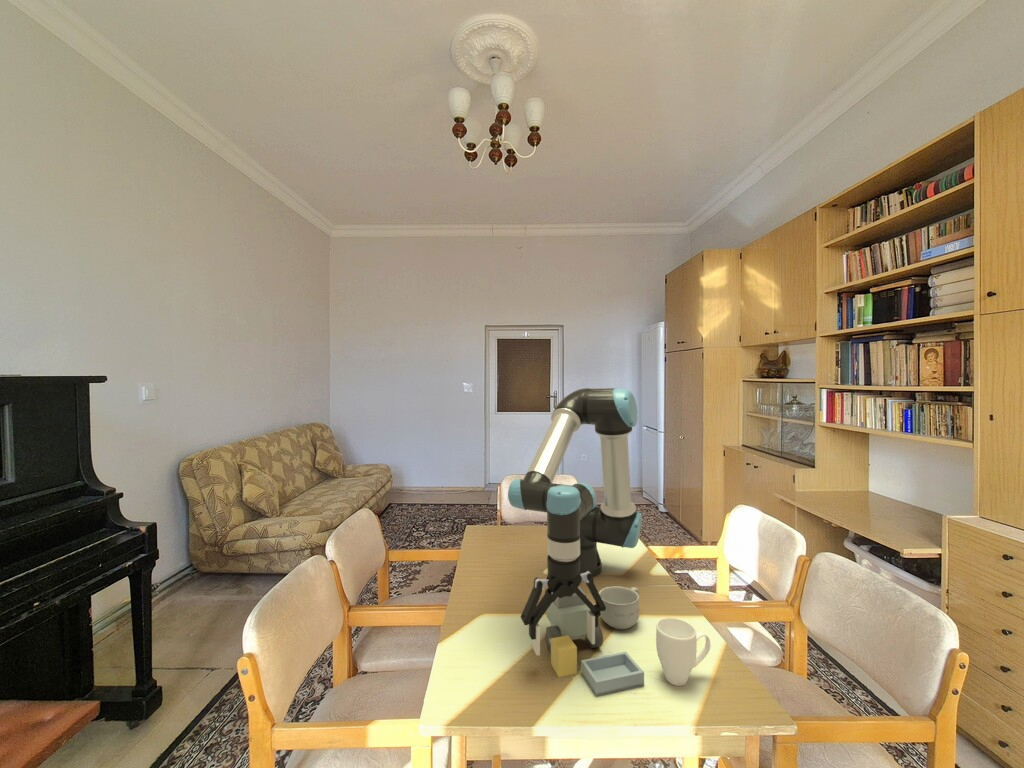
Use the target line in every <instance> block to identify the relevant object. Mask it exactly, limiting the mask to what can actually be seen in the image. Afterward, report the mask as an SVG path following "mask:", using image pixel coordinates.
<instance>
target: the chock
mask: <svg viewBox="0 0 1024 768" xmlns="http://www.w3.org/2000/svg"><path fill="white" fill-rule="evenodd" d="M573 641H574V640H571V638H570V637H569V636H568V635H567V636H562V637H556V638H551V654H550V665H551V666H552V668H553V670H554V671H555V673H556V676H557V677H558V678H563V677H566V676H567V677H568V676H571V675H577V674H578V646H577V645H576V644H575V643H574V642H573Z"/></svg>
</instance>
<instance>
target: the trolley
mask: <svg viewBox="0 0 1024 768" xmlns="http://www.w3.org/2000/svg"><path fill="white" fill-rule="evenodd" d="M578 588H579V590H580V591H581V592H582V593H583V594H584V595H585V596H586V597H587V594H586V592H585V591H583V589H582V588H581V587H580V585H579V586H578ZM551 594H553V592H552V593H551ZM588 610H590V609H589V607H588V606H587V605H586V604H585V603H584V602H583V601H582V600H581V599H580V598H579V597H578V595H577V594H576V593H574V594H573V595H572V596H570V597H568V596H565V597H563V598H559V597H557V598H556V600H555V601H554V602H552V603H551V605H550V606H549V608H548V609H547V610H546V618H547V620H548V622H549V623H550V624H551V626H547V627H546V628H545V642H546V646H547V650H548V652H549V654H550V655H551V638H556V637H562V636H567V635H568V636H569V637H570V638H571V640H572V641H575V640H579V639H584V638H585V640H586V641H585V642H586V643H587V645H588V646H589V648H591V649H595V648H598V647H602V645H603V641H604V635H603V630H602V626H601V624H600V622H599V621H598V627H596V628H595V644H591V642H590V641H589V640H588V638H587V611H588ZM590 611H591V610H590Z"/></svg>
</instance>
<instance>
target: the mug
mask: <svg viewBox="0 0 1024 768" xmlns="http://www.w3.org/2000/svg"><path fill="white" fill-rule="evenodd" d="M655 628H656V629H655V636H656V637H655V638H656V639H655V641H656V642H655V644H656V645H655V646H656V654H657V656H658V660H659V663H660V665H661V668H662V671H663V674H664V677H665V680H666V681H667V682H668V683H670V684H671V685H673V686H679V687H682V686H685V685H686V684H687V682H688V680H689V677H690V674H691V672H692V670H693V669H694V668H696V667H697V666H699V664H700V663H701V662H703V660H704V659H705V658H707V655H708V654H709V652H710V650H711V639H710V637H709V635H708V634H707V633H706V632H705V631H701V630H700V631H696V628H694V626H693V625H691V624H690V623H688V622H687V621H684V620H682V619H678V618H671V617H668V618H667V617H665V618H662V619H660V620H658V621H657V622H656V625H655ZM702 637H704V638H705V644H704V647H703V650H701V652H700V653H699V654H698V655H697V649H698V648H697V645H698V644H697V643H698V641H699V639H700V638H702Z"/></svg>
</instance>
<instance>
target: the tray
mask: <svg viewBox="0 0 1024 768" xmlns="http://www.w3.org/2000/svg"><path fill="white" fill-rule="evenodd" d="M580 674H581V676H582V677H583V679H584V681H585V682H586V683H587V685H588V686H589V688H590V690H591V691H592V692H593V694H594V696H595V697H596V698H598V697H601V696H604V695H609V694H615V693H618V692H622V691H626V690H627V691H629V690H632V689H637V688H641V687H644V686H645V672H644V670H643V669H642V668H641V667H640V666H639V664H638V663H637V662H636V661H635V660H634V659H633V657H631V656H630V654H629V653H628V652H627V651H622V652H616V653H611V654H606V655H601V656H597V657H591V658H587V659H581V660H580Z"/></svg>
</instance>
